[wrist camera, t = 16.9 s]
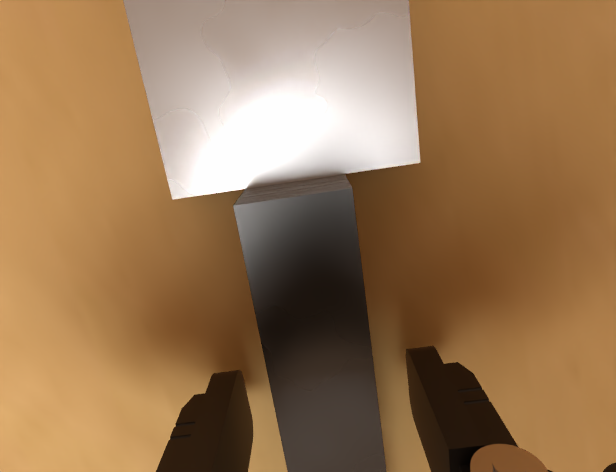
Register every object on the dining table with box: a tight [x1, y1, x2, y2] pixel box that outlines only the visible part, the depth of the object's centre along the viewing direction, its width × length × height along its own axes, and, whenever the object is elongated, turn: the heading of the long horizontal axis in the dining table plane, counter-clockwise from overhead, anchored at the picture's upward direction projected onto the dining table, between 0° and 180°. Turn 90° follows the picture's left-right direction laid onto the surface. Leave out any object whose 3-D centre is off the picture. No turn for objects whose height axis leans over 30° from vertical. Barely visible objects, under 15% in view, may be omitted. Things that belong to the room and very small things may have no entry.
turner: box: [123, 0, 420, 472], centre depth 11 cm, size 22×6×3 cm, turn 9°
